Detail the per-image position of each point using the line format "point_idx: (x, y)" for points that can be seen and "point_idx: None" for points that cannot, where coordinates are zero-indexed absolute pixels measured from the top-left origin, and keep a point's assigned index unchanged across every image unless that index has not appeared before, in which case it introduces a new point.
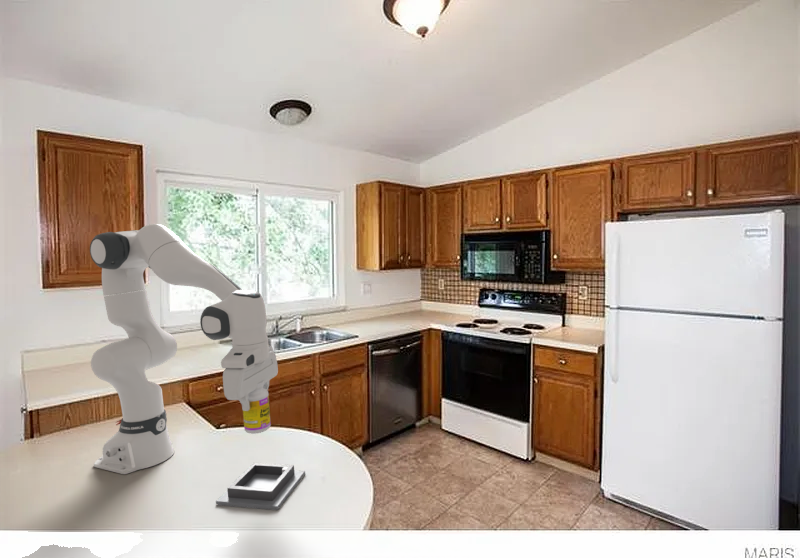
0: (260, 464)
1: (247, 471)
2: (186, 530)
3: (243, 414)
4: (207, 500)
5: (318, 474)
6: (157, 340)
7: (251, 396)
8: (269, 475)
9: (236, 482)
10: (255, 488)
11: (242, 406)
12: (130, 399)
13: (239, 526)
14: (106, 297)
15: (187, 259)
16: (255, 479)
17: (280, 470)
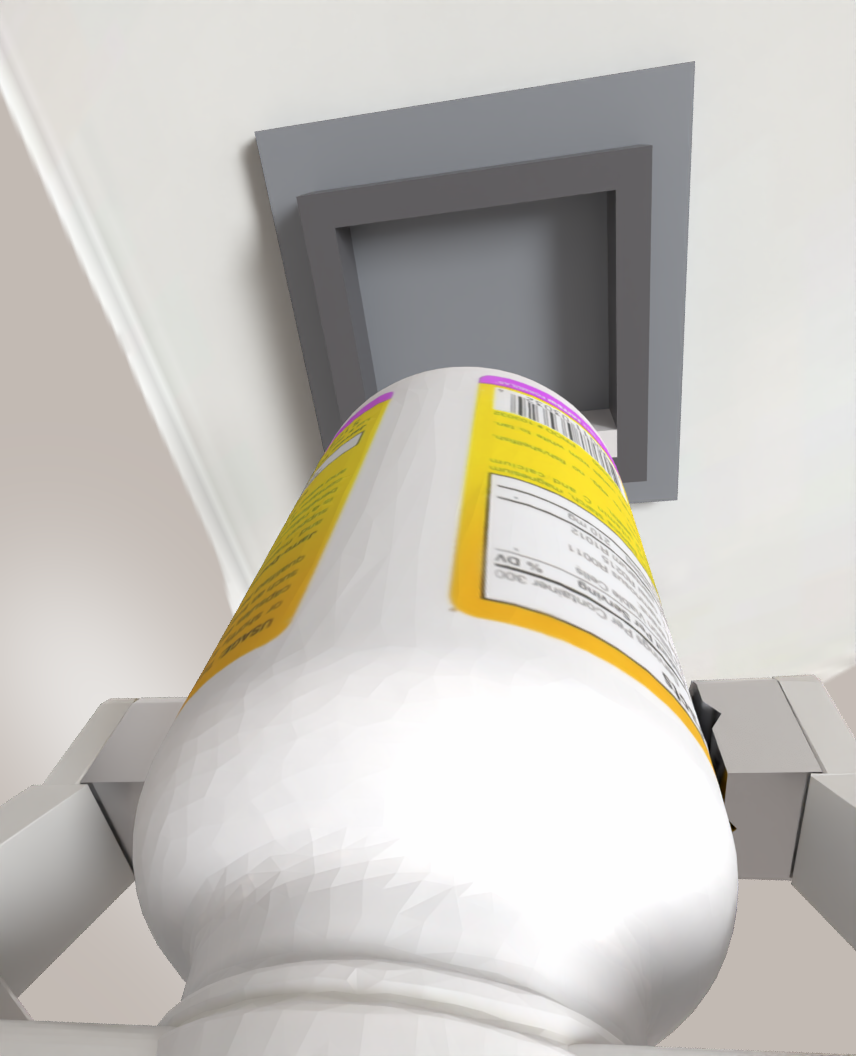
0: (631, 229)
1: (518, 192)
2: (32, 141)
3: (291, 518)
4: (276, 15)
5: (677, 559)
6: None
7: (180, 975)
8: (598, 306)
9: (372, 213)
10: (354, 394)
11: (74, 750)
12: None
13: (185, 410)
14: None
15: None
16: (535, 237)
17: (613, 393)
